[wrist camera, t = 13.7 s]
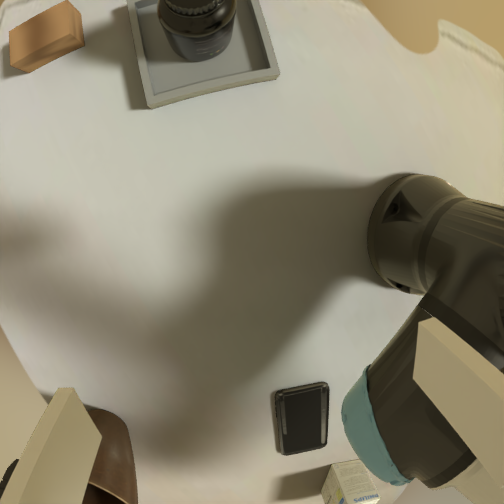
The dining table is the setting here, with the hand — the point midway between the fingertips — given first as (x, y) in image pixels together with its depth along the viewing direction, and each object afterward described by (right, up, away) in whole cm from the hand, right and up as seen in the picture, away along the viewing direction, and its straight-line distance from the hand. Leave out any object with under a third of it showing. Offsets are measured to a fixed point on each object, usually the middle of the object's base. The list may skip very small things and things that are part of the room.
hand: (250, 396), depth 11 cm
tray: (-6, +28, +19) cm, 34 cm away
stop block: (-23, +30, +16) cm, 41 cm away
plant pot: (-23, -22, +31) cm, 44 cm away
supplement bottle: (-5, +28, +18) cm, 34 cm away
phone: (+8, -21, +35) cm, 41 cm away
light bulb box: (+17, -39, +41) cm, 59 cm away
